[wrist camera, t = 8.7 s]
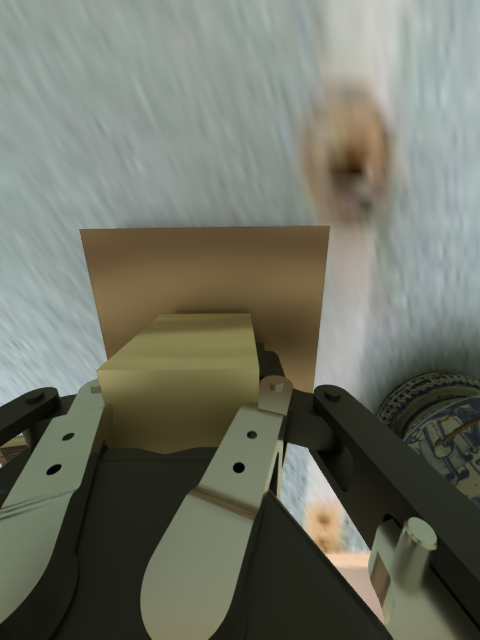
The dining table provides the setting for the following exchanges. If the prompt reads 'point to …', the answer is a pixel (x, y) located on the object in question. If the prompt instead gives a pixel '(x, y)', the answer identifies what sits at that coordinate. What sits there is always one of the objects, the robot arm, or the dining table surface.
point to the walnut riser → (214, 283)
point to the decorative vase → (440, 424)
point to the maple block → (181, 381)
